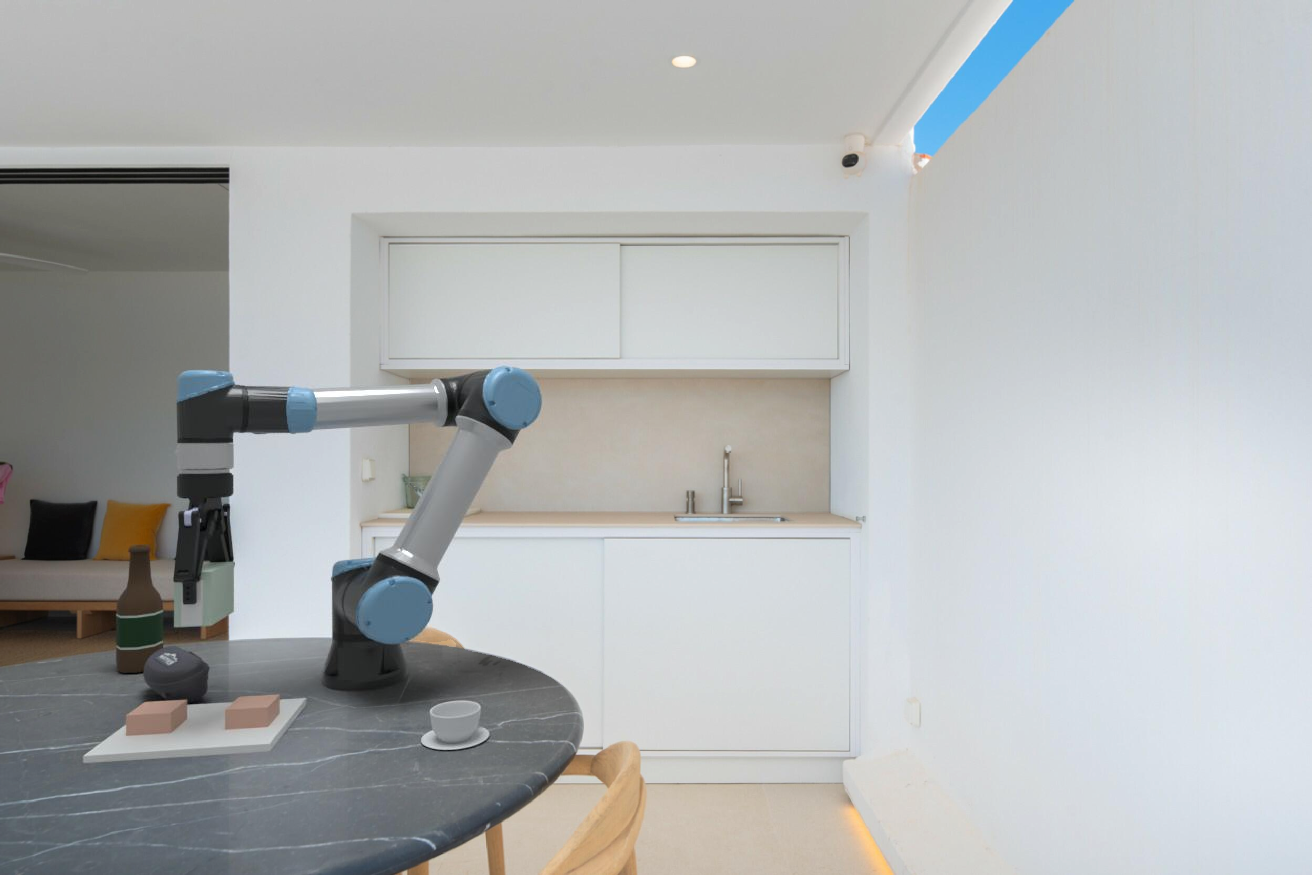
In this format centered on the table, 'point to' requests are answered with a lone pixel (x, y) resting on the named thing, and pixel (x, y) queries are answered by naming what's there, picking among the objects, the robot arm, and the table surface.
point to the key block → (211, 593)
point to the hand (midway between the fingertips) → (205, 617)
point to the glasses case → (177, 674)
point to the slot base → (199, 729)
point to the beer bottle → (138, 615)
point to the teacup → (455, 726)
